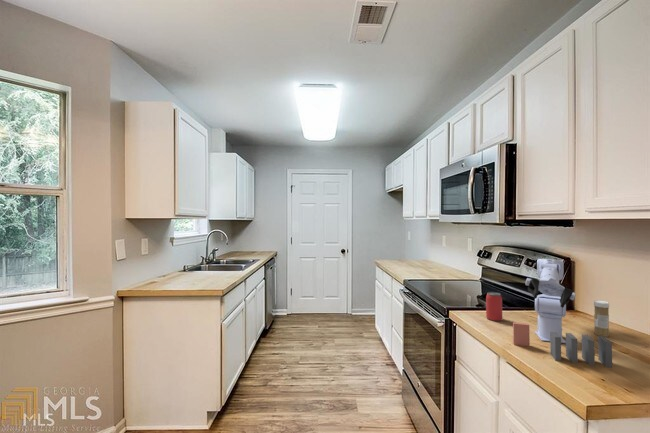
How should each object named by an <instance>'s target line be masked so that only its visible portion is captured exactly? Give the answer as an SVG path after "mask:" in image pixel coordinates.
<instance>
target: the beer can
mask: <svg viewBox="0 0 650 433" xmlns="http://www.w3.org/2000/svg"><path fill="white" fill-rule="evenodd" d="M485 303H486V304H485V311H486V313H485V315H486V316H485V317H486V318H487V319H488V320H489V321H492V322H493V321H494V322H500V321H502V320H503V298H502V294H501V293H500V292H495V291H488V292H487V294H486V297H485Z"/></svg>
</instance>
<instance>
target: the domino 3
mask: <svg viewBox="0 0 650 433" xmlns="http://www.w3.org/2000/svg"><path fill="white" fill-rule="evenodd" d="M595 354H596V352H595V340H594V339H593V338H592V337H591V336H589V334H581V358H582V360H584V361H585V363H586V364H588V366H589V365H590V366H595V363H596V361H595V359H596V358H595Z"/></svg>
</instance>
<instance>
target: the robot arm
mask: <svg viewBox="0 0 650 433" xmlns="http://www.w3.org/2000/svg"><path fill="white" fill-rule="evenodd" d="M536 270H537V274H536V275H537V278H538V279H537V278H529V277H527V278H526V280H525V286H528V287H527V292H529V293H531V294H532V297H533V298H534V311H535V313H536V314H538V315H537V330H534V333H535V335H537V336H538V338H539V339H540V340H541V341H542V342H550V331H551V332H556V333H557V334H558V335H559V336H560V337H561V344H566V339H564V338H563V325H562V324H563V323H562V322H563V321H562V320H563V317H564V318H565V317H566V316H567V305H568V304H569V302H570V300H571V301H574V300H575V298H576V292H573V290H572V289H570V288H567V287H564V286H563V285H561V284H560V281H561V280H563V278H564V273H565V272H564V261H563V260H562V259H549V258H547V259H546V258H538V259H537V261H536ZM539 292H540V293H542V294H539Z"/></svg>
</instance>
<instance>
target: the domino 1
mask: <svg viewBox="0 0 650 433" xmlns="http://www.w3.org/2000/svg"><path fill="white" fill-rule="evenodd" d="M549 343H550V346H549V347H550V351H549V352H550V355H551V357H552V358H553V359H554V361H555V362H556V361H557V362H562V343H561V337H560V336H559V335H558V334H557V333H556V332H551V331H550V341H549Z"/></svg>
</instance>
